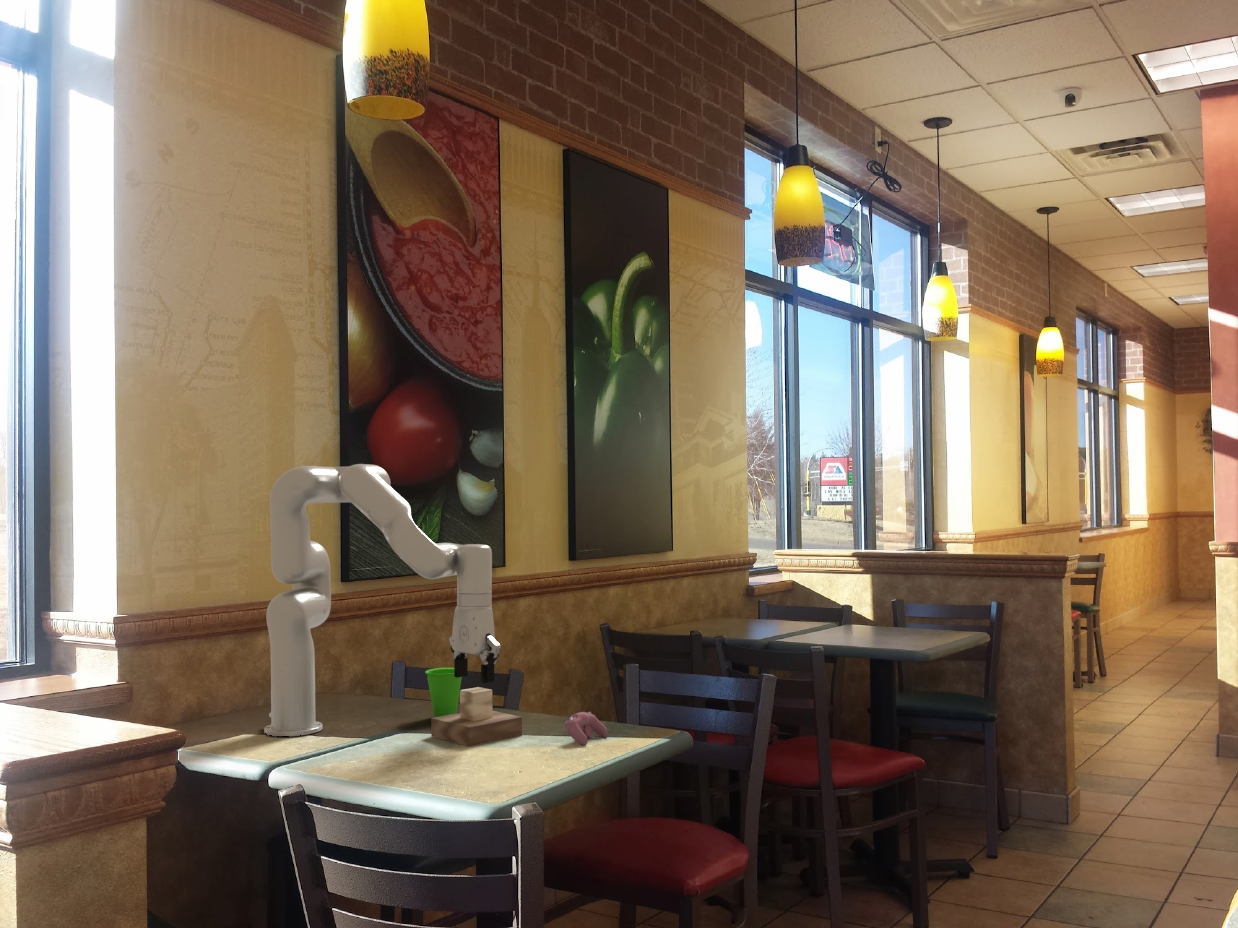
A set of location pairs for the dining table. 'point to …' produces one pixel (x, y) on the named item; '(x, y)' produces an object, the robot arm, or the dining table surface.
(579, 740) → the video game controller
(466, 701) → the birch block
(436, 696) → the cup
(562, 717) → the dining table surface
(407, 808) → the dining table surface
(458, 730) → the walnut block
